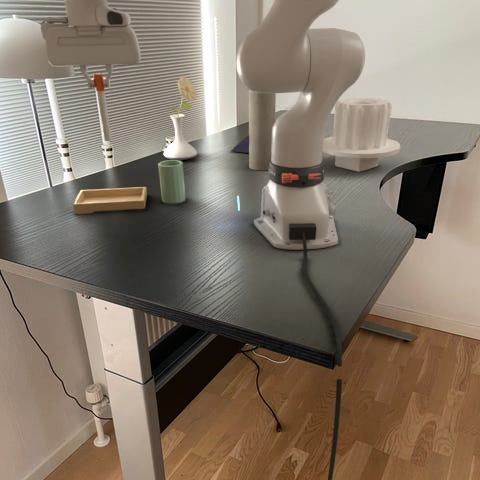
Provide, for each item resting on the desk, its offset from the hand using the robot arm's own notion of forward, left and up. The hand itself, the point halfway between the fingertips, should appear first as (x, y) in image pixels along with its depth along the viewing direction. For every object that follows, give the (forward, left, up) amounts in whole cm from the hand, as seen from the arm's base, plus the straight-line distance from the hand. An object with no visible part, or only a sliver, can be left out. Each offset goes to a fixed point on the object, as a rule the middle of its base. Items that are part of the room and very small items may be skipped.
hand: (99, 87), depth 110 cm
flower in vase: (+45, -18, -28) cm, 56 cm away
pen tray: (0, +1, -28) cm, 28 cm away
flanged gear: (+25, -73, -28) cm, 82 cm away
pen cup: (0, -15, -28) cm, 31 cm away
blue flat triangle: (+56, -53, -28) cm, 82 cm away
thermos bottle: (+29, -43, -28) cm, 59 cm away
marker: (0, 0, -12) cm, 12 cm away
